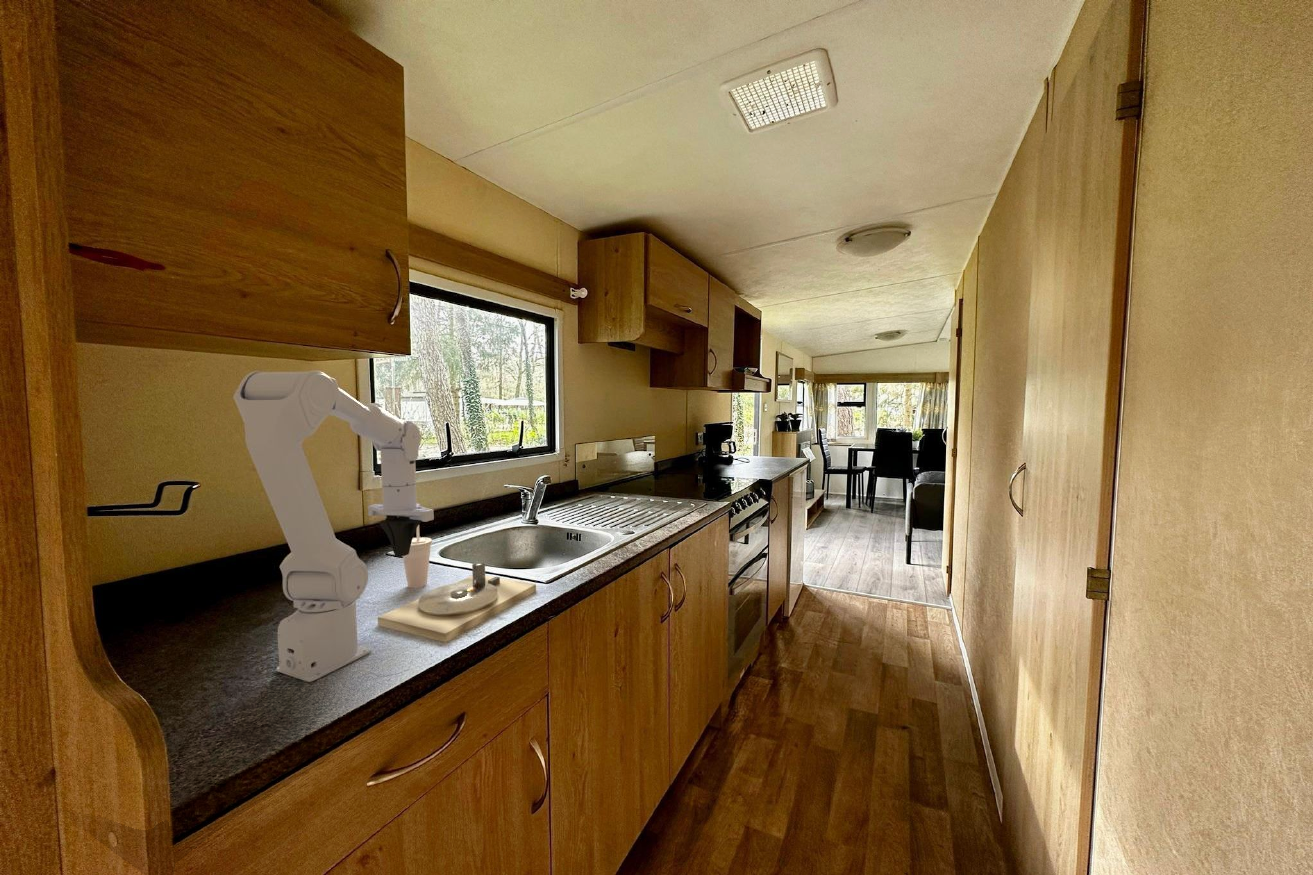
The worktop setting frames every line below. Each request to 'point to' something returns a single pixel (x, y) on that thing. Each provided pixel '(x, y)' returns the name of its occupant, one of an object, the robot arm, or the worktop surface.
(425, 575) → the smoothie
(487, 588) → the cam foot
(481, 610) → the stand plate
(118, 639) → the worktop surface
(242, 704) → the worktop surface
